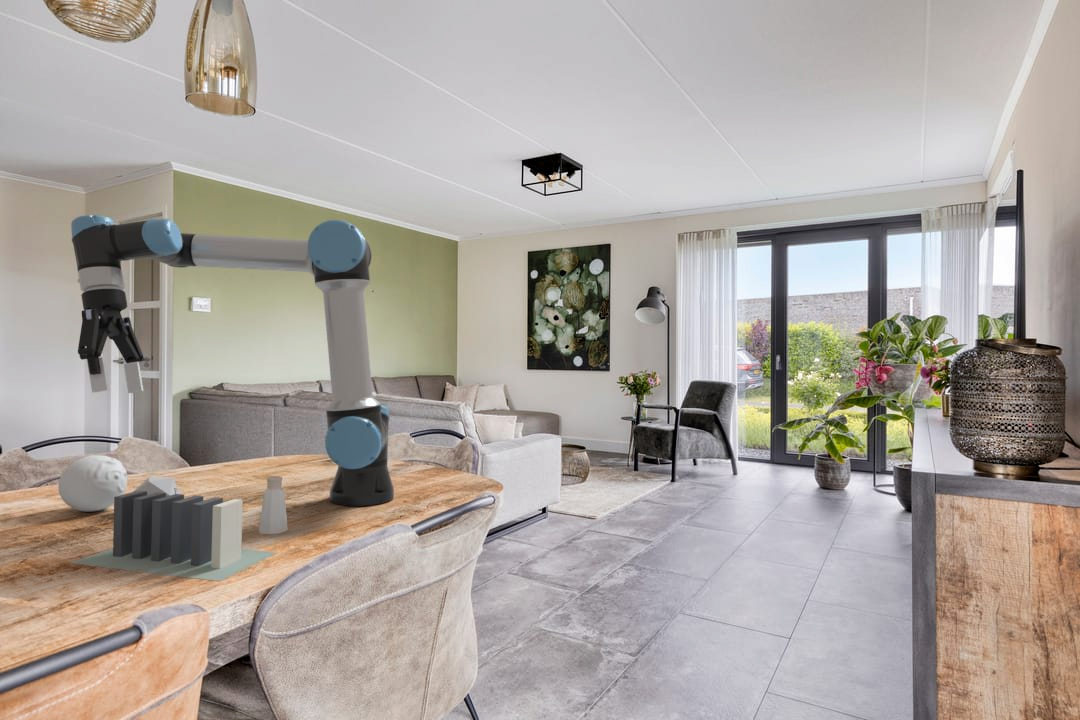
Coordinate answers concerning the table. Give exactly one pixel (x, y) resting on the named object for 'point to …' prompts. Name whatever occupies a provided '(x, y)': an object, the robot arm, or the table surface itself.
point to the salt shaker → (273, 508)
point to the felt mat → (175, 565)
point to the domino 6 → (226, 533)
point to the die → (159, 486)
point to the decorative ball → (92, 483)
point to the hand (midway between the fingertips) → (119, 391)
